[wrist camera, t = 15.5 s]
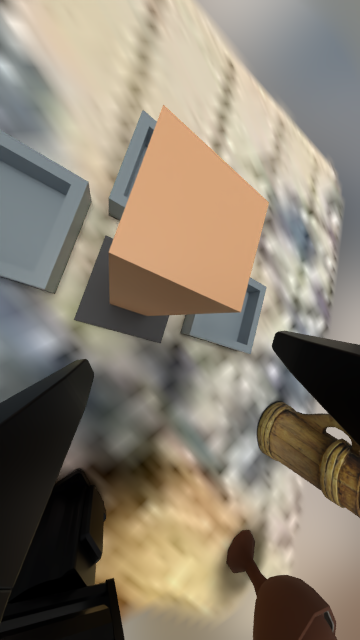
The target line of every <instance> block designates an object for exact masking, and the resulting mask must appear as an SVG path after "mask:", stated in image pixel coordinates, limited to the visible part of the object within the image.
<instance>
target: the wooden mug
mask: <svg viewBox="0 0 360 640" xmlns="http://www.w3.org/2000/svg"><path fill="white" fill-rule="evenodd" d="M327 427H336V428H338V429H340V430H342V431H343V432H344V433H345V434H347V432H346V431H345V430H344V429H343V428H342V427H341V426H340V425H339V424H338V423H337V422H336V421H335V420H334V419H333V417H332V416H331V415H330V414H302V413H299V412H296V411H295V410H294V409H293V408H292V407H290V406H288V405H287V404H285V403H284V402H278V403H274V404H272V405H271V406H269V407H268V408H267V409H266V410H265V412H264V413H263V414H262V417H261V419H260V422H259V425H258V430H257V437H258V443H259V447H260V449H261V451H262V452H263V453H264V454H266V455H268V456H269V457H271V458H272V459H274V460H276V461H279V462H281V463H282V464H284V465H285V466H287V467H288V468H289V469H291V470H292V471H294V472H295V473H297V474H298V475H300V476H301V477H302V478H304V479H305V480H307V481H309V482H310V483H311V484H313V485H314V486H315V487H317V488H318V489H320V490H321V491H322V492H323V494H324V495H325V497H326V498H328V499H329V500H330V501H332V502H334V503H335V504H337V505H338V506H340V507H342V508H347V509H348V510H350V511H351V512H353V513H354V514H355V515H357V516H358V517H360V446H359V445H358V444H357V443H356V442H355V441H354V440H353V439H352V438H351V437H350V436H349V435H348V434H347V435H348V436H349V438H350V439H351V441H352V446H351V445H350V444H349V443H348V442H347V441H345V440H344V439H339V440H338V439H336V438H335V437H333V436H331V435H330V434H328V433H327V432H326V428H327Z"/></svg>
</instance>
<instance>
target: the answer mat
mask: <svg viewBox="0 0 360 640" xmlns="http://www.w3.org/2000/svg"><path fill="white" fill-rule="evenodd" d="M112 242H113V239H112V238H110V237H108V236H105V239H104V241H103V244H102V247H101V249H100V252H99V255H98V257H97V260H96V263H95V265H94V268H93V271H92V273H91V276H90V279H89V281H88V284H87V287H86V289H85V292H84V295H83V297H82V300H81V303H80V305H79V308H78V311H77V313H76V316H75V318H74V320H77V321H80V322H84V323H88V324H92V325H95V326H99V327H103V328H106V329H110V330H114V331H118V332H121V333H125V334H129V335H133V336H136V337H140V338H144V339H147V340H151V341H155V342H159V343H161V340H162V337H163V334H164V331H165V327H166V324H167V321H168V318H169V315H160V316H145V315H142V314H139V313H136V312H133V311H130V310H127V309H124V308H121V307H118V306H115V305H112V304H110V296H109V250H110V247H111V244H112Z"/></svg>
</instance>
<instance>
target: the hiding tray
mask: <svg viewBox="0 0 360 640" xmlns="http://www.w3.org/2000/svg"><path fill="white" fill-rule="evenodd" d="M156 123H157V122H156V121H155V120H154V119H153V118H152V117H151V116H149V115H148V114H147V113H146V112H145V111H144V110H143V111H142V113H141V116H140V118H139V121H138V124H137V126H136V129H135V131H134V134H133V137H132V139H131V142H130V144H129V147H128V150H127V152H126V155H125V157H124V160H123V163H122V165H121V168H120V170H119V173H118V176H117V178H116V181H115V183H114V186H113V189H112V191H111V194H110V196H109V215H111V216H113V217H114V218H116V219H118V220H121V217H122V215H123V212H124V209H125V207H126V204H127V201H128V199H129V196H130V193H131V191H132V188H133V185H134V183H135V180H136V177H137V174H138V172H139V169H140V166H141V164H142V161H143V158H144V156H145V153H146V150H147V148H148V145H149V142H150V140H151V137H152V134H153V131H154V129H155V126H156Z"/></svg>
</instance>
